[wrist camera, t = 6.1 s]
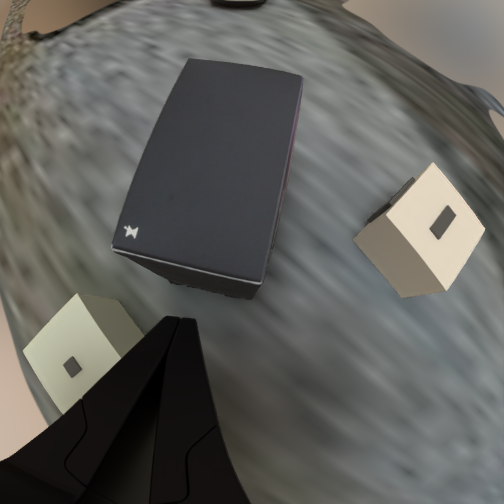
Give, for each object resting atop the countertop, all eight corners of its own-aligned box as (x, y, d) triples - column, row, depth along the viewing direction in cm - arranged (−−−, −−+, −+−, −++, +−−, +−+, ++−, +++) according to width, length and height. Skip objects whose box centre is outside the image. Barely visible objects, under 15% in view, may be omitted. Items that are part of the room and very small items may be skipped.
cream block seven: (440, 247, 22) (487, 228, 16) (401, 298, 21) (448, 290, 15) (393, 191, 23) (431, 157, 16) (349, 236, 22) (384, 209, 16)
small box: (257, 303, 21) (269, 293, 10) (167, 282, 21) (100, 253, 10) (285, 167, 23) (310, 72, 12) (204, 152, 23) (182, 54, 13)
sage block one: (168, 364, 20) (138, 383, 13) (114, 407, 19) (74, 433, 13) (115, 296, 20) (72, 288, 14) (67, 342, 20) (18, 347, 13)
